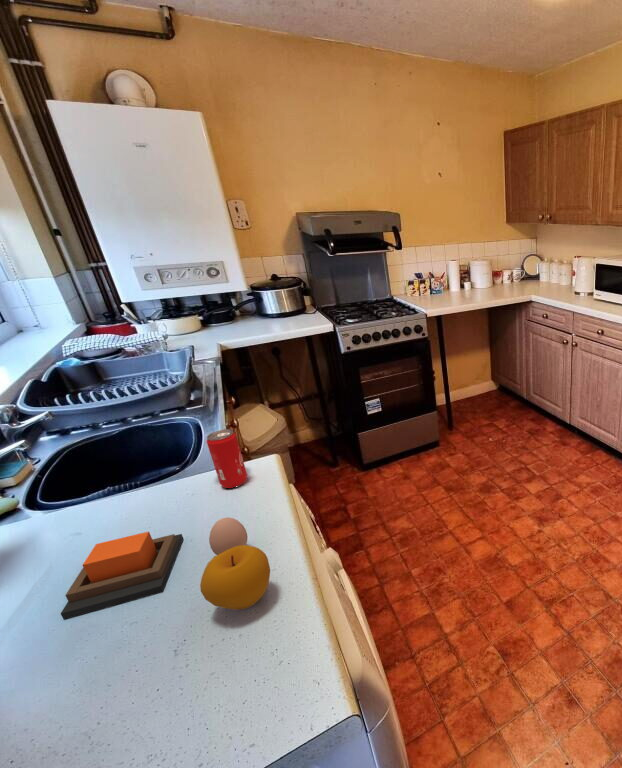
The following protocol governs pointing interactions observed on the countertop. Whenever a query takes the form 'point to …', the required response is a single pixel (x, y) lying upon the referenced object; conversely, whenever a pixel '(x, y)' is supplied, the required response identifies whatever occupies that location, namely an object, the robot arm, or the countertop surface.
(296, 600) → the countertop surface
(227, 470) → the beverage can
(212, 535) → the egg
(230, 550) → the apple
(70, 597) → the brown wooden tray
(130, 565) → the orange block
